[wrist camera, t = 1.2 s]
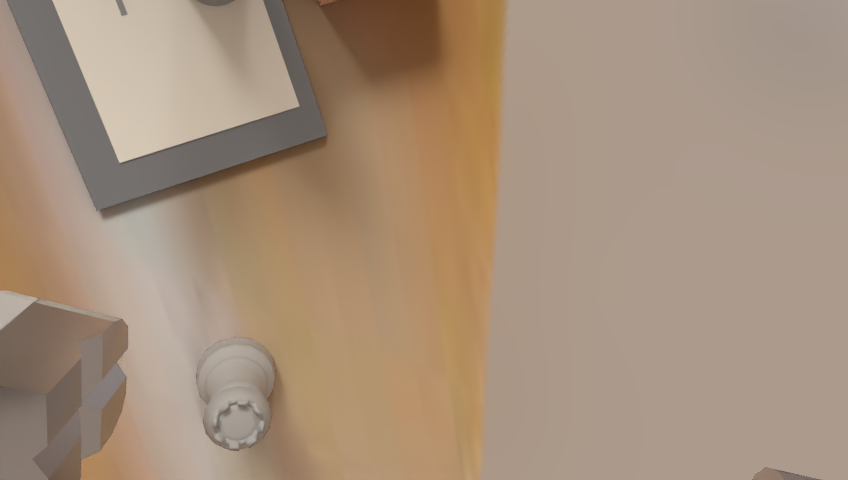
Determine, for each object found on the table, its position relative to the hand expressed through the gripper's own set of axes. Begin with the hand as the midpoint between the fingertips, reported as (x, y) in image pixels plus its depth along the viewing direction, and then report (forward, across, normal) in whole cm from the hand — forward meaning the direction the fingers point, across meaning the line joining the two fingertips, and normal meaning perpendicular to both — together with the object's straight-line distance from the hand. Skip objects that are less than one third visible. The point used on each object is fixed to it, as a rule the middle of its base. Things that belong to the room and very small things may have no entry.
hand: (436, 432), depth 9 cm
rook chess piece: (+26, +9, +21) cm, 34 cm away
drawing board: (+30, +17, +1) cm, 35 cm away
